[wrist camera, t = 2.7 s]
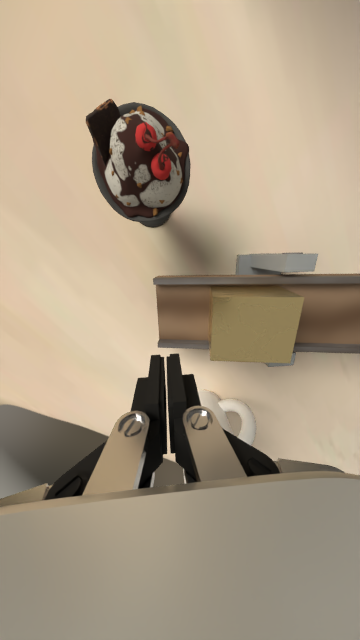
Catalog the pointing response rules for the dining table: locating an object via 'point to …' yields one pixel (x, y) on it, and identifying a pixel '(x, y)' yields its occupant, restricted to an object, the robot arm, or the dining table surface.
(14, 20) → the dining table surface
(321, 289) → the beam
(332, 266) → the dining table surface
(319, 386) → the dining table surface
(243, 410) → the mug
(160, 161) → the sundae
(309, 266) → the pivot stand
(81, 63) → the dining table surface
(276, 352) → the block
